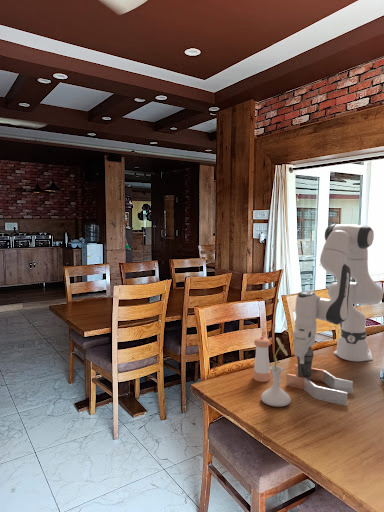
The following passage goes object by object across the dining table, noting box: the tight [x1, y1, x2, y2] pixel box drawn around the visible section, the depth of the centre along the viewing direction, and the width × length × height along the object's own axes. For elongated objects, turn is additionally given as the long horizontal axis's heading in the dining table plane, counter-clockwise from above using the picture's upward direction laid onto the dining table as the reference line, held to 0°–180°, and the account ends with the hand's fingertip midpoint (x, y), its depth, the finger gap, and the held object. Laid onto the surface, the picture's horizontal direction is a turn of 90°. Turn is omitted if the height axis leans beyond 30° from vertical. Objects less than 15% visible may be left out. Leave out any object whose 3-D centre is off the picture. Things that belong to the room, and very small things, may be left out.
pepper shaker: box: [253, 336, 271, 382], centre depth 170 cm, size 7×7×19 cm
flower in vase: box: [260, 337, 292, 408], centre depth 148 cm, size 13×11×25 cm
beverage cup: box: [296, 347, 314, 381], centre depth 165 cm, size 7×7×20 cm
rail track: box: [286, 364, 354, 407], centre depth 160 cm, size 19×25×5 cm
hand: (304, 360), depth 165 cm, fingers closed on beverage cup, 7 cm apart
